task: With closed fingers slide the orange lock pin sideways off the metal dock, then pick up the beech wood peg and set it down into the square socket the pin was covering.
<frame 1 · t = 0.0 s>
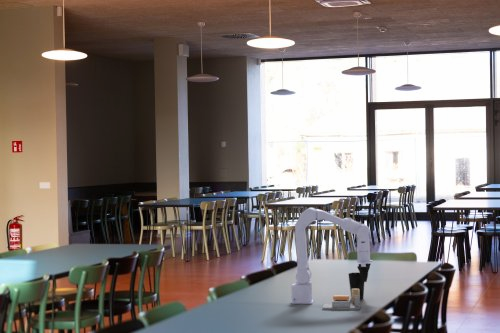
hand: (364, 280, 363), 10 cm above the table, fingers open, 7 cm apart
peg: (356, 304, 359), on the table
dock: (341, 307, 352), on the table
pin: (341, 297, 352), point 4 cm above the table, slide at 0.0 cm
cup: (357, 299, 372), on the table
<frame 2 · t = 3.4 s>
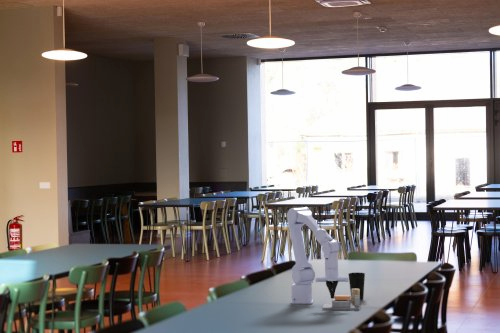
hand: (332, 298, 353), 4 cm above the table, fingers closed
pin: (342, 297, 352), point 4 cm above the table, slide at 0.6 cm, touching gripper
everything else where it was.
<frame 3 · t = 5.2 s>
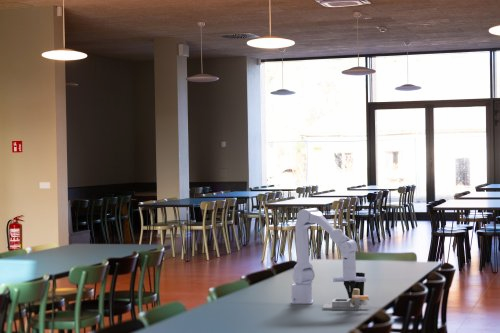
hand: (350, 298, 351), 4 cm above the table, fingers closed
pin: (360, 297, 350), point 4 cm above the table, slide at 8.4 cm, touching gripper
everything else where it was.
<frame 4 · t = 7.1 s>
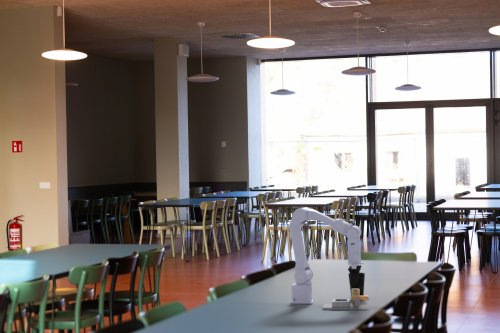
hand: (355, 282, 359), 10 cm above the table, fingers open, 6 cm apart
pin: (360, 297, 350), point 4 cm above the table, slide at 8.4 cm
everything else where it was.
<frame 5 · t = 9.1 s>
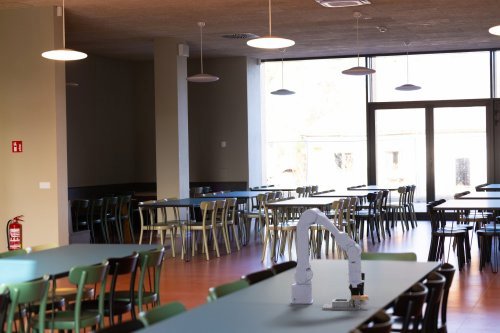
hand: (355, 301, 359), 2 cm above the table, fingers closed on peg, 4 cm apart
peg: (356, 304, 359), on the table, touching gripper
everything else where it was.
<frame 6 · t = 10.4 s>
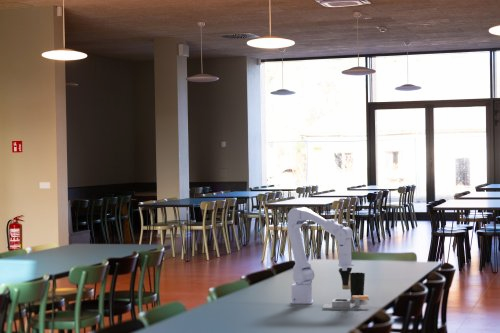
hand: (345, 284, 354), 10 cm above the table, fingers closed on peg, 4 cm apart
peg: (346, 288, 354), point 8 cm above the table, touching gripper
everything else where it was.
when the fingers open (4 cm above the table, at t = 12.0 s): peg drops 1 cm, resting on dock.
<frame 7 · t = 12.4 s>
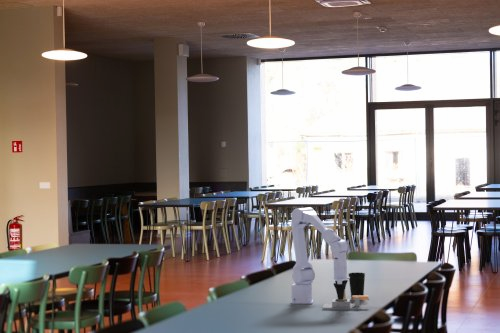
hand: (341, 297, 352), 4 cm above the table, fingers open, 7 cm apart
peg: (342, 305, 352), point 1 cm above the table, touching dock
everything else where it was.
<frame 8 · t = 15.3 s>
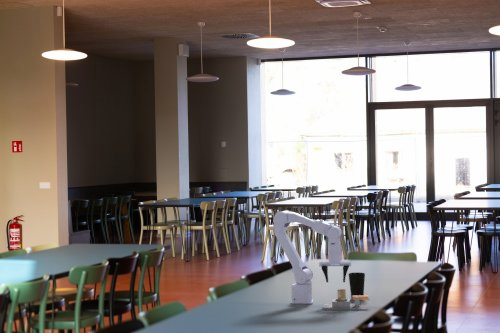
hand: (335, 282, 362), 10 cm above the table, fingers open, 7 cm apart
nothing on the table moved.
at the end: peg 0.2 cm off-centre on the dock, point 1.0 cm above the dock's base; peg tilted 1°; pin slide at 8.4 cm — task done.
